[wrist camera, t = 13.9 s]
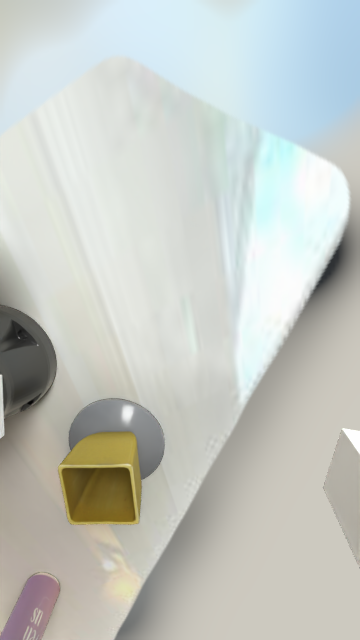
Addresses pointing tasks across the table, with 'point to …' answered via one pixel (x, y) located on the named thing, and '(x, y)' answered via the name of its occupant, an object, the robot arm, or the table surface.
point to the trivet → (122, 428)
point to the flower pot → (102, 480)
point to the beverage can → (32, 609)
